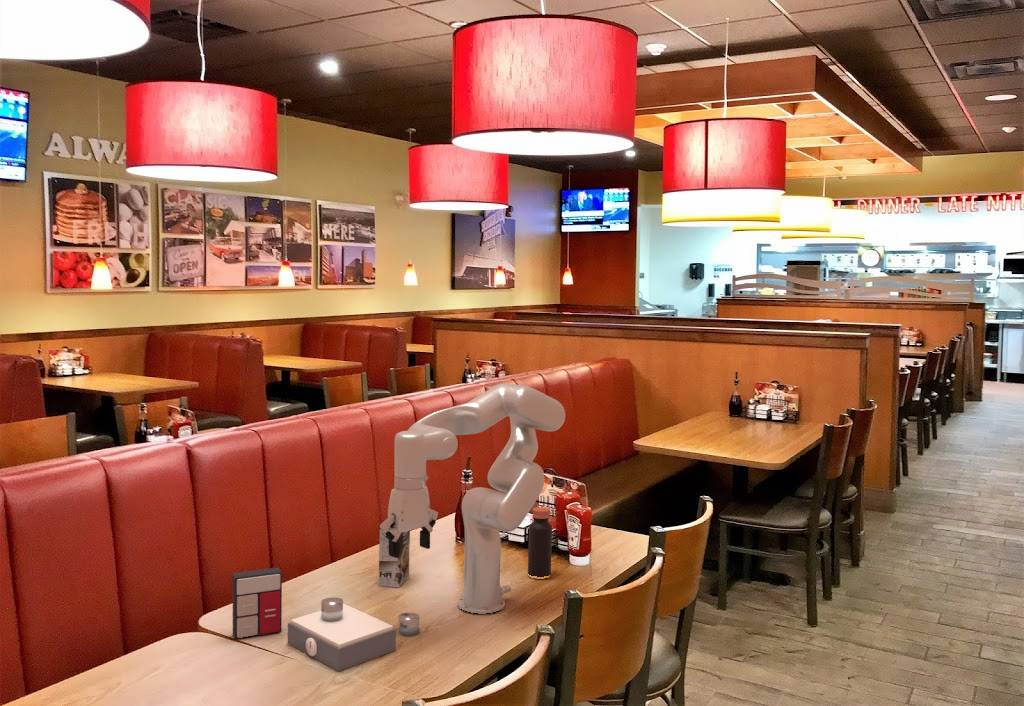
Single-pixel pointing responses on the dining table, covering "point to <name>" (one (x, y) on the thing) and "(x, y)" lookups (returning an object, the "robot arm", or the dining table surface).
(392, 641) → the scale
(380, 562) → the coffee box
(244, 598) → the grey red panel
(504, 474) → the robot arm
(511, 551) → the dining table surface
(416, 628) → the cylinder
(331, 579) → the dining table surface
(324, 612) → the cylinder
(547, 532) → the bottle
